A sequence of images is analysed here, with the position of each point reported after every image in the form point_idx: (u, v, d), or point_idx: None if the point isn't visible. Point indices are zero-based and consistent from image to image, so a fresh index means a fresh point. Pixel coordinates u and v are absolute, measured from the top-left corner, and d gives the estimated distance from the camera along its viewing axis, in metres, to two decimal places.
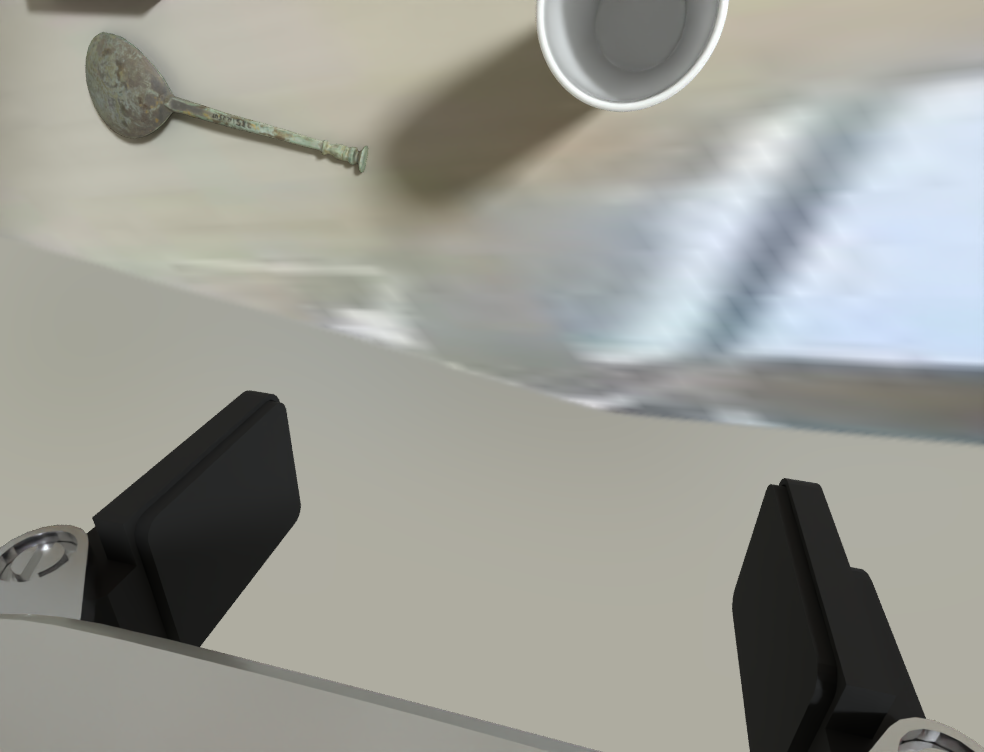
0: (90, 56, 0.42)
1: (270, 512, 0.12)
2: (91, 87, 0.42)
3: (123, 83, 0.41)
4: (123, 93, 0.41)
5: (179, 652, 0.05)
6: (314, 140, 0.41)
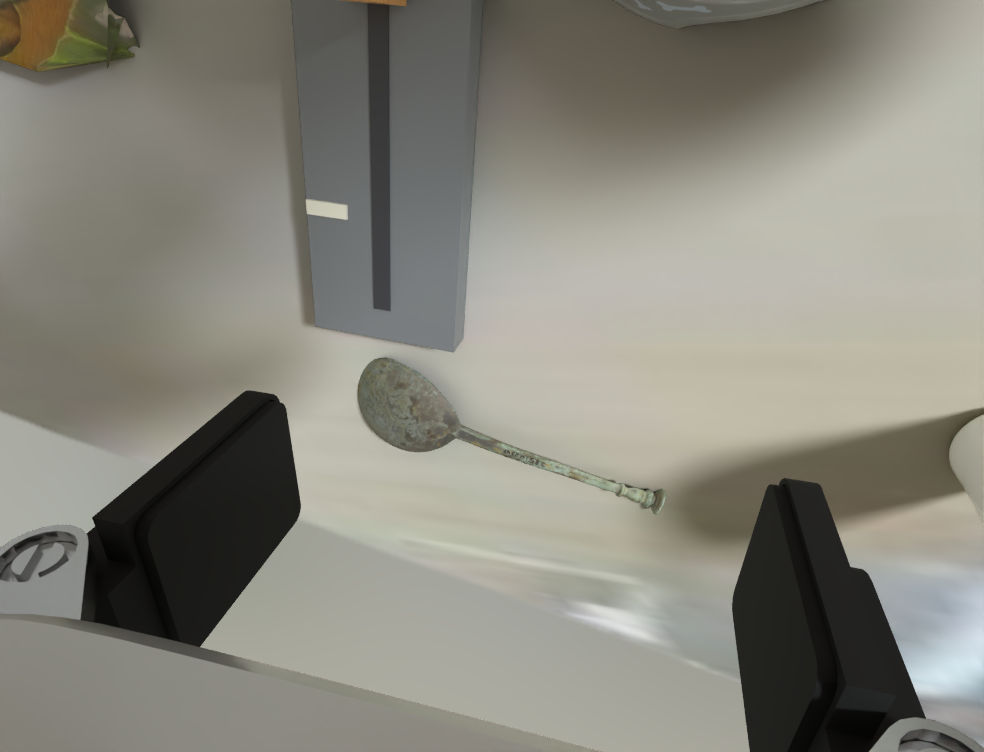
0: (376, 381, 0.40)
1: (270, 512, 0.12)
2: (371, 408, 0.41)
3: (415, 417, 0.39)
4: (413, 425, 0.40)
5: (181, 651, 0.05)
6: (611, 484, 0.39)
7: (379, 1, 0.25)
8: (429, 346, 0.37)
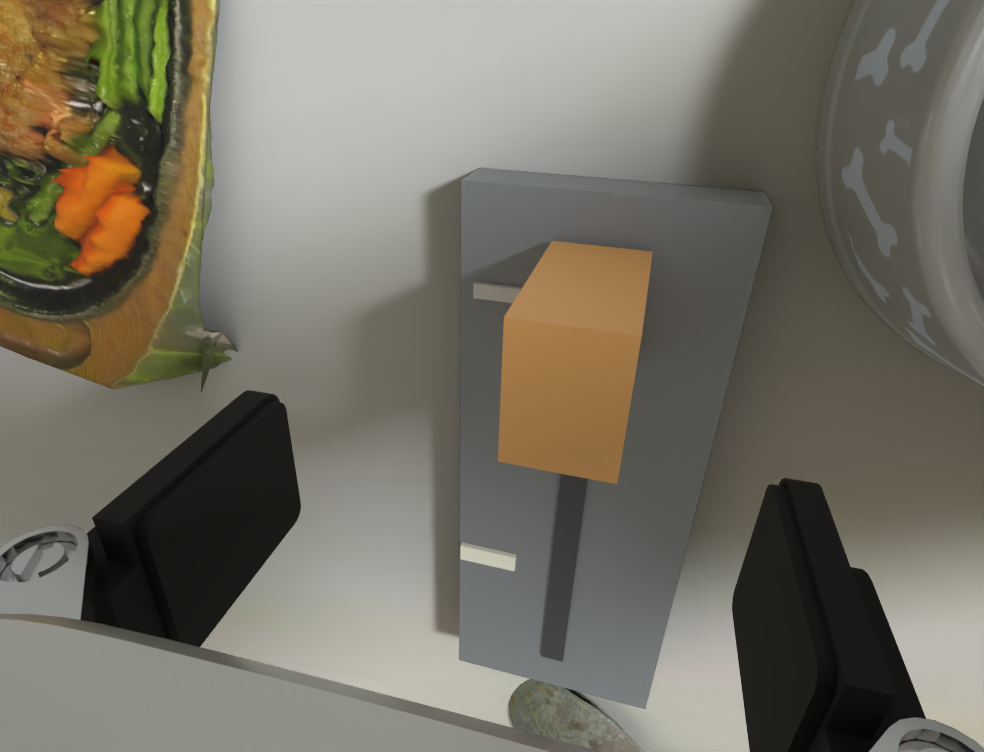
0: (540, 711, 0.32)
1: (270, 512, 0.12)
2: None
3: None
4: None
5: (180, 653, 0.05)
6: None
7: None
8: (612, 699, 0.28)
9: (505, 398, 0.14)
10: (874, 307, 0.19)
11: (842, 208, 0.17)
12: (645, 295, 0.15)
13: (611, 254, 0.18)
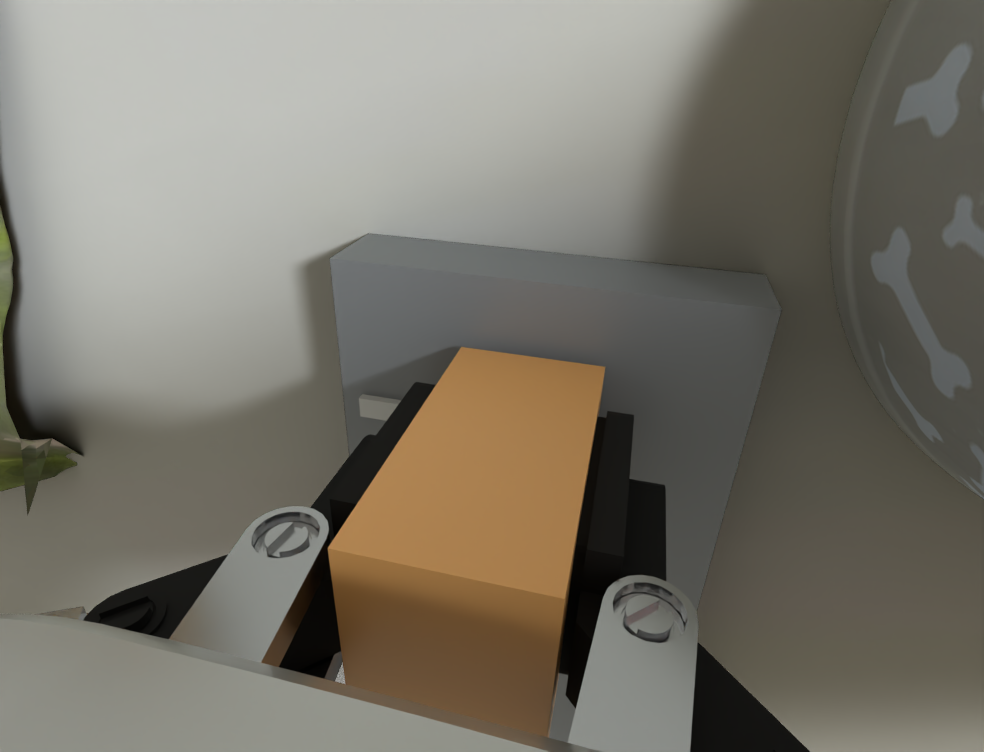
0: None
1: None
2: None
3: None
4: None
5: (179, 652, 0.05)
6: None
7: None
8: None
9: (350, 658, 0.09)
10: (910, 435, 0.13)
11: (869, 308, 0.12)
12: (583, 475, 0.09)
13: (542, 374, 0.12)
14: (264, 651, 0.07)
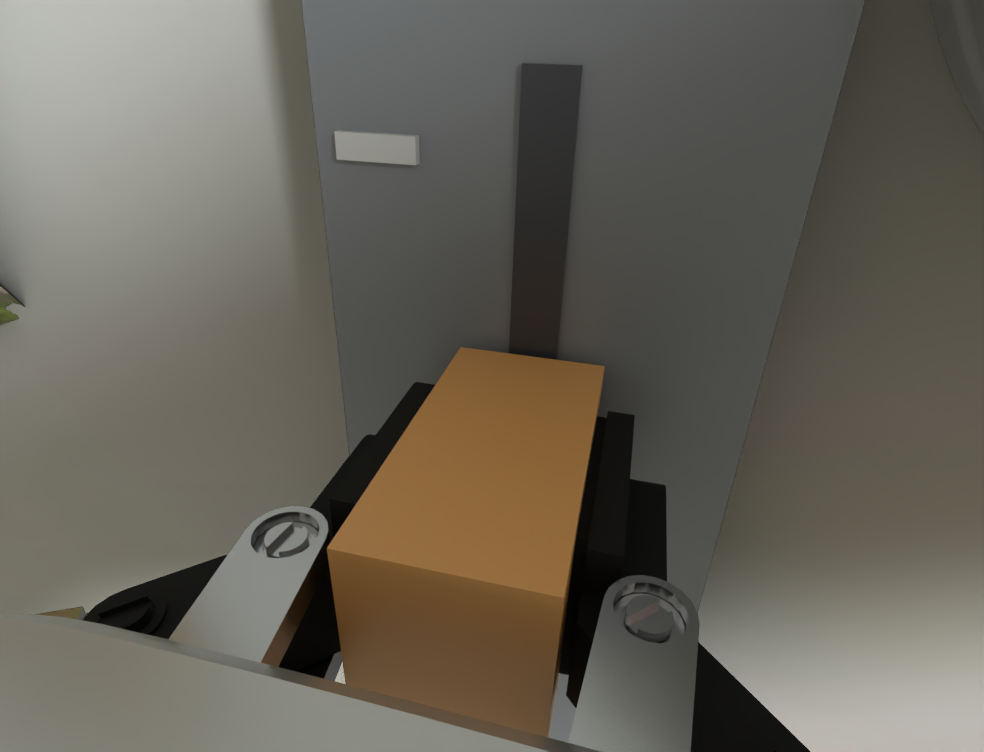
0: None
1: None
2: None
3: None
4: None
5: (180, 653, 0.05)
6: None
7: None
8: None
9: (350, 659, 0.09)
10: None
11: None
12: (583, 474, 0.09)
13: (541, 373, 0.12)
14: (264, 651, 0.07)
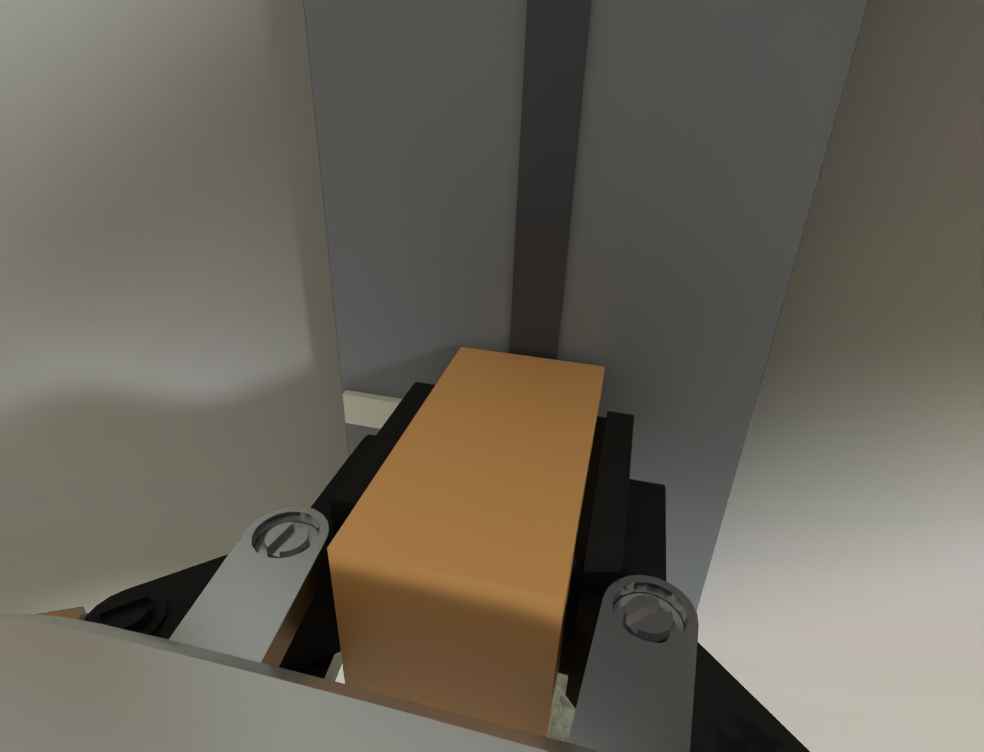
0: (553, 718, 0.20)
1: None
2: None
3: None
4: None
5: (181, 653, 0.05)
6: None
7: None
8: None
9: (349, 658, 0.09)
10: None
11: None
12: (583, 475, 0.09)
13: (542, 374, 0.12)
14: (264, 651, 0.07)
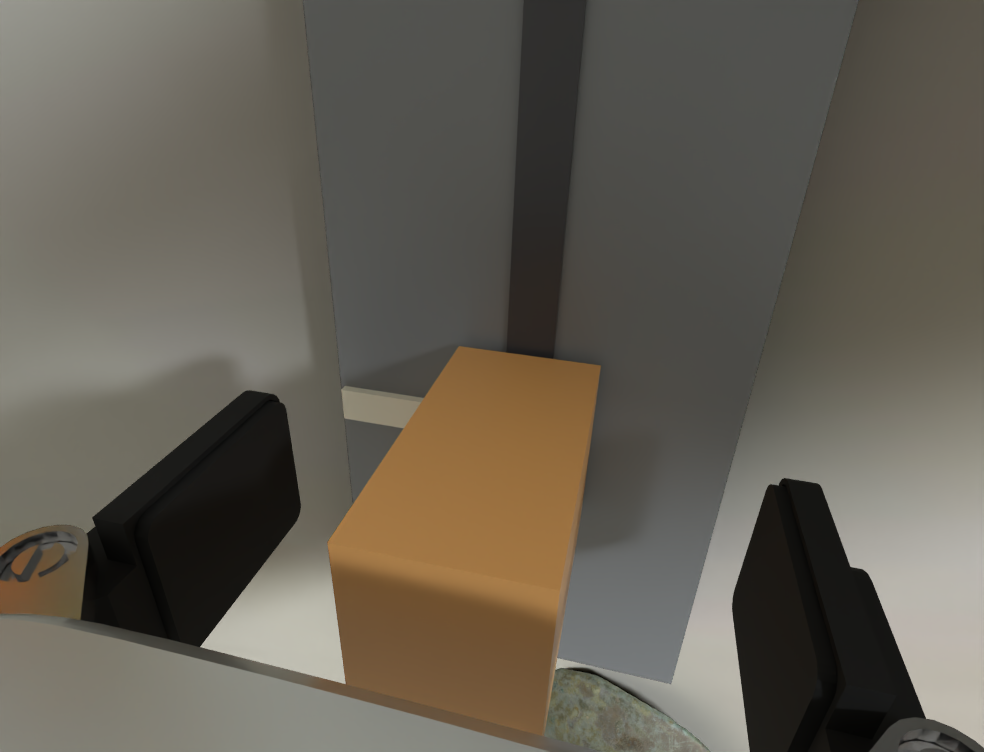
0: (571, 721, 0.20)
1: (270, 512, 0.12)
2: None
3: None
4: None
5: (180, 651, 0.05)
6: None
7: None
8: (615, 668, 0.17)
9: (349, 651, 0.09)
10: None
11: None
12: (579, 471, 0.09)
13: (539, 372, 0.12)
14: None
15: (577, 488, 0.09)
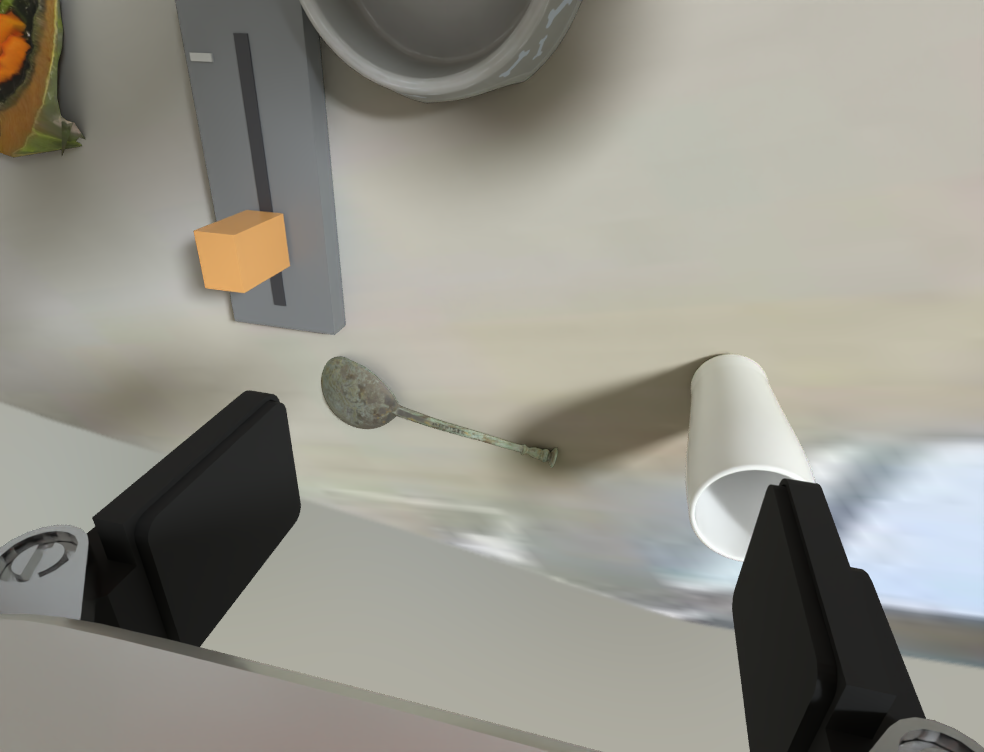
0: (333, 375, 0.52)
1: (270, 512, 0.12)
2: (331, 395, 0.53)
3: (363, 400, 0.51)
4: (362, 407, 0.52)
5: (179, 652, 0.05)
6: (515, 445, 0.51)
7: (267, 278, 0.44)
8: (317, 331, 0.49)
9: (201, 261, 0.41)
10: None
11: None
12: (254, 225, 0.42)
13: (263, 214, 0.44)
14: None
15: (251, 227, 0.41)
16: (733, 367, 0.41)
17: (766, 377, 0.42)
